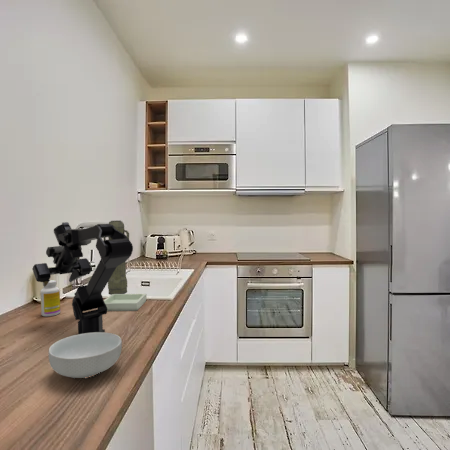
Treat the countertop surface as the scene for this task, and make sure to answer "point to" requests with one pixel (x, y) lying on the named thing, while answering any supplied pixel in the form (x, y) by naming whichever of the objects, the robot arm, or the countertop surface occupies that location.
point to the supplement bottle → (50, 299)
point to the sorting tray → (125, 302)
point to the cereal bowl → (85, 354)
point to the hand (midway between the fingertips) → (57, 283)
